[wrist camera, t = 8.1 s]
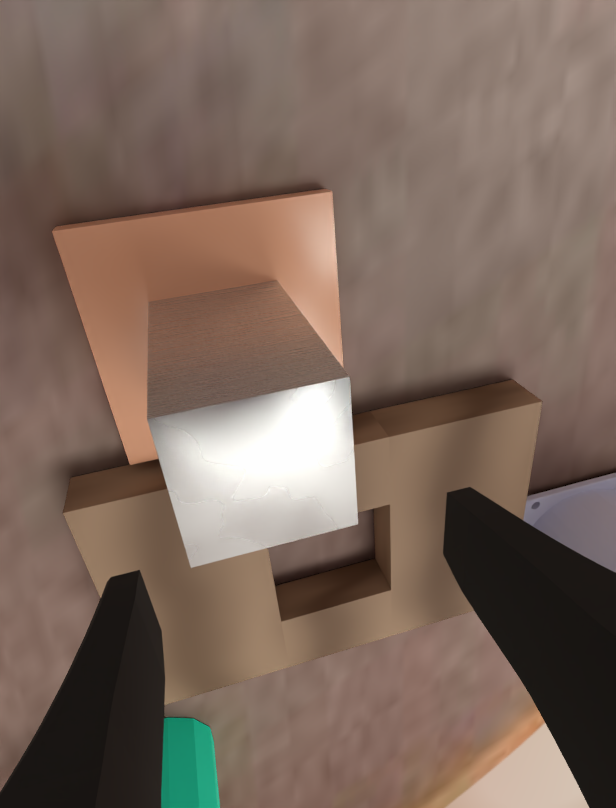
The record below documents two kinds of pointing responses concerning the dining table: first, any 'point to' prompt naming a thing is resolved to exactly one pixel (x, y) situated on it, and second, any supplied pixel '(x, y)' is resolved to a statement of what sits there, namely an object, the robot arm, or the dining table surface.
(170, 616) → the wooden board with hole
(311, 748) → the dining table surface
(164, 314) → the steel plug
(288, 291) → the terracotta tile
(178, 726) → the candle
